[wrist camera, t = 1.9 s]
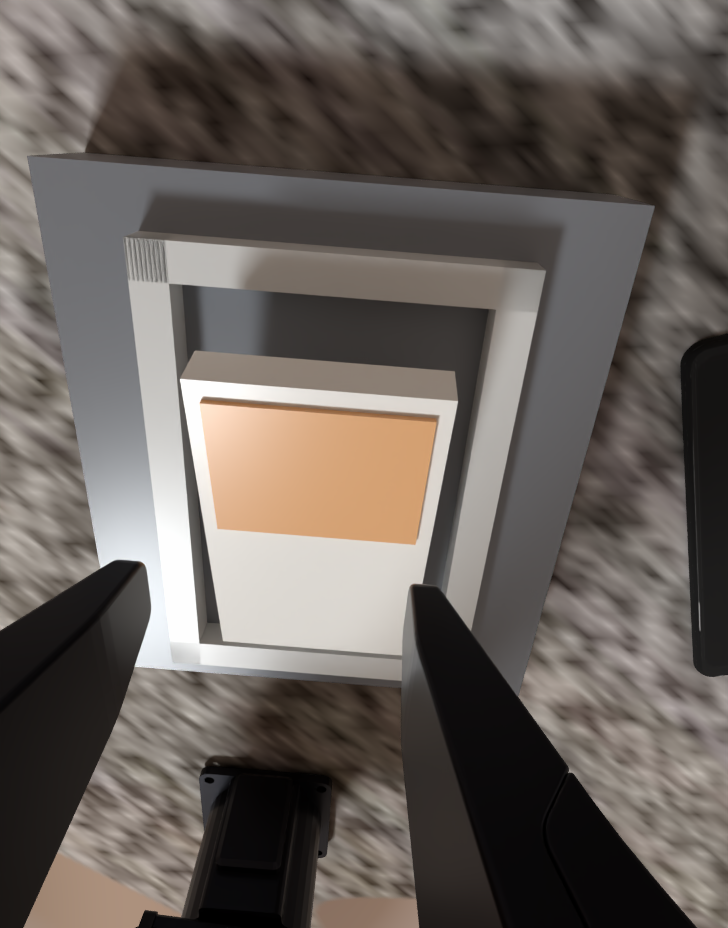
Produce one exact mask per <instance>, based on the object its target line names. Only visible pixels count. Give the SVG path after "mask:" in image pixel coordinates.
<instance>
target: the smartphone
mask: <svg viewBox="0 0 728 928" xmlns="http://www.w3.org/2000/svg"><path fill="white" fill-rule="evenodd" d="M685 392H686V393H685ZM681 394H682V418H683V441H684V464H685V487H686V510H687V532H688V555H689V578H690V600H691V622H692V644H693V662H694V666H695V668H696V669H697V670H698V671H699V672H700V673H701V674H703V675H705V676H709V677H716V676H724V675H728V334H725V335H721V336H717V337H713V338H709V339H705V340H702V341H699V342H697V343H695V344H693V345H692V346H691V347H690V348H689V349H688V350H687V351H686V352H685V354H684V355H683V357H682V360H681ZM688 468H689V469H688ZM693 590H694V591H693Z"/></svg>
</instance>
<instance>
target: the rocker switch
mask: <svg viewBox="0 0 728 928" xmlns="http://www.w3.org/2000/svg"><path fill="white" fill-rule="evenodd" d="M180 383H181V389H182V395H183V401H184V407H185V413H186V419H187V425H188V431H189V437H190V443H191V449H192V456H193V462H194V468H195V474H196V480H197V486H198V492H199V498H200V504H201V510H202V516H203V522H204V528H205V535H206V541H207V547H208V553H209V559H210V565H211V571H212V577H213V583H214V589H215V595H216V601H217V607H218V614H219V620H220V626H221V632H222V638H223V641H227V642H240V643H252V644H265V645H277V646H289V647H302V648H314V649H326V650H339V651H351V652H363V653H376V654H388V655H401V656H402V640H403V626H404V619H405V611H406V604H407V597H408V590H409V587H410V586H411V585H412V584H422V583H423V578H424V573H425V568H426V563H427V558H428V552H429V547H430V542H431V537H432V532H433V527H434V522H435V517H436V512H437V506H438V501H439V496H440V491H441V486H442V481H443V476H444V471H445V466H446V460H447V455H448V450H449V445H450V440H451V435H452V430H453V425H454V420H455V414H456V409H457V404H458V396H457V387H456V378H455V371H444V370H432V369H419V368H407V367H394V366H382V365H369V364H357V363H344V362H332V361H319V360H307V359H294V358H282V357H269V356H257V355H244V354H232V353H219V352H207V351H194V353H193V355H192V357H191V359H190V361H189V362H188V364H187V366H186V368H185V370H184V372H183V374H182V376H181V378H180Z"/></svg>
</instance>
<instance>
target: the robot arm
mask: <svg viewBox="0 0 728 928" xmlns="http://www.w3.org/2000/svg"><path fill="white" fill-rule="evenodd" d="M150 615H151V598H150V591H149V583H148V575H147V569H146V566H145V564H144V563H142V562H141V561H132V560H114V561H112V562H110V563H109V564H107V565H105V566H104V567H102V568H100V569H99V570H97V571H96V572H94V573H92V574H91V575H89V576H88V577H86V578H84V579H83V580H81V581H80V582H78V583H76V584H75V585H73V586H71V587H70V588H68V589H67V590H65V591H63V592H62V593H60V594H59V595H57V596H55V597H54V598H52V599H51V600H49V601H47V602H46V603H44V604H42V605H41V606H39V607H38V608H36V609H34V610H33V611H31V612H30V613H28V614H26V615H25V616H23V617H22V618H20V619H18V620H17V621H15V622H14V623H12V624H10V625H9V626H7V627H5V628H4V629H2V630H1V631H0V928H23V927H24V925H25V923H26V920H27V918H28V916H29V914H30V911H31V909H32V907H33V905H34V903H35V901H36V898H37V896H38V894H39V892H40V889H41V887H42V885H43V883H44V880H45V878H46V876H47V874H48V871H49V869H50V867H51V865H52V863H53V861H54V858H55V856H56V854H57V852H58V850H59V847H60V845H61V843H62V841H63V838H64V836H65V834H66V832H67V830H68V827H69V825H70V823H71V821H72V819H73V816H74V814H75V812H76V810H77V807H78V805H79V803H80V801H81V799H82V796H83V794H84V792H85V790H86V787H87V785H88V783H89V781H90V779H91V776H92V774H93V772H94V770H95V768H96V765H97V763H98V761H99V759H100V756H101V754H102V752H103V750H104V748H105V745H106V743H107V741H108V739H109V737H110V734H111V732H112V730H113V727H114V725H115V723H116V720H117V718H118V715H119V712H120V709H121V707H122V704H123V701H124V698H125V695H126V692H127V689H128V685H129V682H130V679H131V676H132V673H133V670H134V667H135V664H136V661H137V658H138V654H139V651H140V648H141V645H142V642H143V639H144V636H145V633H146V630H147V627H148V623H149V620H150ZM401 747H402V759H403V769H404V779H405V789H406V799H407V809H408V819H409V829H410V839H411V849H412V859H413V869H414V879H415V889H416V899H417V909H418V919H419V928H697V927H696V926H695V925H694V924H693V923H692V921H691V920H690V919H689V918H688V917H687V916H686V915H685V913H684V912H683V911H682V910H681V909H680V908H679V906H678V905H677V904H676V903H675V902H674V901H673V899H672V898H671V897H670V896H669V895H668V894H667V893H666V891H665V890H664V889H663V888H662V887H661V886H660V884H659V883H658V882H657V881H656V880H655V878H654V877H653V876H652V875H651V874H650V872H649V871H648V870H647V869H646V868H645V866H644V865H643V864H642V863H641V861H640V860H639V859H638V858H637V857H636V855H635V854H634V853H633V852H632V851H631V849H630V848H629V847H628V846H627V845H626V843H625V842H624V841H623V840H622V838H621V837H620V836H619V835H618V833H617V832H616V831H615V829H614V828H613V827H612V825H611V824H610V823H609V821H608V820H607V819H606V817H605V816H604V815H603V813H602V812H601V811H600V809H599V808H598V807H597V805H596V804H595V803H594V802H593V800H592V799H591V797H590V796H589V795H588V793H587V792H586V791H585V789H584V788H583V786H582V785H581V784H580V782H579V781H578V779H577V778H576V777H575V775H574V774H573V773H568V772H569V768H568V766H567V764H566V763H565V762H564V760H563V759H562V757H561V756H560V755H559V753H558V752H557V751H556V749H555V748H554V746H553V745H552V744H551V742H550V741H549V739H548V738H547V737H546V735H545V734H544V732H543V731H542V730H541V728H540V727H539V725H538V724H537V723H536V721H535V720H534V719H533V717H532V716H531V714H530V713H529V712H528V710H527V709H526V707H525V706H524V705H523V703H522V702H521V700H520V699H519V698H518V696H517V695H516V694H515V692H514V691H513V689H512V688H511V687H510V685H509V684H508V682H507V681H506V680H505V678H504V677H503V675H502V674H501V673H500V671H499V670H498V668H497V667H496V666H495V664H494V663H493V662H492V660H491V659H490V657H489V656H488V655H487V653H486V652H485V650H484V649H483V648H482V646H481V645H480V643H479V642H478V641H477V639H476V638H475V637H474V635H473V634H472V632H471V631H470V630H469V628H468V627H467V625H466V624H465V623H464V621H463V620H462V618H461V617H460V616H459V614H458V613H457V612H456V610H455V609H454V607H453V606H452V605H451V603H450V602H449V600H448V599H447V598H446V596H445V595H444V593H443V592H442V591H441V589H440V588H439V587H438V586H435V585H427V584H412V585H411V586H410V587H409V590H408V597H407V604H406V611H405V619H404V626H403V640H402V686H401ZM199 783H200V793H201V803H202V813H203V823H204V834H203V838H202V842H201V846H200V849H199V853H198V857H197V861H196V864H195V868H194V872H193V875H192V879H191V883H190V887H189V890H188V894H187V898H186V902H185V905H184V909H183V913H182V916H181V917H173V916H166V915H158V912H156V911H148V910H145V911H144V913H143V916H142V919H141V921H140V924H139V926H138V927H136V928H311V918H312V909H313V899H314V889H315V879H316V869H317V860H318V858H323V857H325V856H326V855H327V847H328V834H329V819H330V805H331V791H332V780H331V779H330V778H329V777H327V776H322V775H310V774H298V773H285V772H273V771H261V770H248V769H236V768H224V767H212V766H210V767H205V768H203V769H202V771H201V775H200V778H199Z"/></svg>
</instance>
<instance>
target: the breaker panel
mask: <svg viewBox="0 0 728 928" xmlns="http://www.w3.org/2000/svg"><path fill="white" fill-rule="evenodd" d="M27 158H28V164H29V169H30V175H31V180H32V186H33V192H34V197H35V203H36V209H37V214H38V220H39V225H40V231H41V237H42V242H43V248H44V254H45V259H46V265H47V270H48V276H49V282H50V287H51V293H52V299H53V304H54V310H55V316H56V321H57V327H58V332H59V338H60V344H61V349H62V355H63V361H64V366H65V372H66V377H67V383H68V389H69V394H70V400H71V406H72V411H73V417H74V422H75V428H76V434H77V439H78V445H79V451H80V456H81V462H82V468H83V473H84V479H85V484H86V490H87V496H88V501H89V507H90V513H91V518H92V524H93V529H94V535H95V541H96V546H97V552H98V558H99V563H100V568H102V567H104V566H105V565H107V564H109V563H110V562H112V561H114V560H132V561H141V562H142V563H144V564H145V566H146V569H147V575H148V583H149V591H150V598H151V615H150V620H149V623H148V627H147V630H146V633H145V636H144V639H143V642H142V645H141V648H140V651H139V654H138V658H137V661H136V664H135V667H147V668H159V669H171V670H184V671H196V672H208V673H221V674H233V675H246V676H258V677H270V678H283V679H295V680H307V681H320V682H332V683H344V684H357V685H369V686H381V687H394V688H401V686H402V656H401V655H388V654H376V653H363V652H351V651H339V650H326V649H314V648H302V647H289V646H277V645H265V644H252V643H240V642H227V641H223V638H222V632H221V626H220V620H219V614H218V607H217V601H216V595H215V589H214V583H213V577H212V571H211V565H210V559H209V553H208V547H207V541H206V535H205V528H204V522H203V516H202V510H201V504H200V498H199V492H198V486H197V480H196V474H195V468H194V462H193V456H192V449H191V443H190V437H189V431H188V425H187V419H186V413H185V407H184V401H183V395H182V389H181V383H180V378H181V376H182V374H183V372H184V370H185V368H186V366H187V364H188V362H189V361H190V359H191V357H192V355H193V353H194V351H207V352H219V353H232V354H244V355H257V356H269V357H282V358H294V359H307V360H319V361H332V362H344V363H357V364H369V365H382V366H394V367H407V368H419V369H432V370H444V371H455V378H456V387H457V396H458V404H457V409H456V414H455V420H454V425H453V430H452V435H451V440H450V445H449V450H448V455H447V460H446V466H445V471H444V476H443V481H442V486H441V491H440V496H439V501H438V506H437V512H436V517H435V522H434V527H433V532H432V537H431V542H430V547H429V552H428V558H427V563H426V568H425V573H424V578H423V583H422V584H427V585H435V586H438V587H439V588H440V589H441V591H442V592H443V593H444V595H445V596H446V598H447V599H448V600H449V602H450V603H451V605H452V606H453V607H454V609H455V610H456V612H457V613H458V614H459V616H460V617H461V618H462V620H463V621H464V623H465V624H466V625H467V627H468V628H469V630H470V631H471V632H472V634H473V635H474V637H475V638H476V639H477V641H478V642H479V643H480V645H481V646H482V648H483V649H484V650H485V652H486V653H487V655H488V656H489V657H490V659H491V660H492V662H493V663H494V664H495V666H496V667H497V668H498V670H499V671H500V673H501V674H502V675H503V677H504V678H505V680H506V681H507V682H508V684H509V685H510V687H511V688H512V689H513V691H514V692H515V694H516V695H517V696H519V692H520V688H521V685H522V681H523V678H524V674H525V671H526V667H527V663H528V660H529V656H530V653H531V649H532V645H533V642H534V638H535V635H536V631H537V627H538V624H539V620H540V617H541V613H542V610H543V606H544V602H545V599H546V595H547V592H548V588H549V584H550V581H551V577H552V574H553V570H554V567H555V563H556V559H557V556H558V552H559V549H560V545H561V541H562V538H563V534H564V531H565V527H566V523H567V520H568V516H569V513H570V509H571V506H572V502H573V498H574V495H575V491H576V488H577V484H578V480H579V477H580V473H581V470H582V466H583V462H584V459H585V455H586V452H587V448H588V445H589V441H590V437H591V434H592V430H593V427H594V423H595V419H596V416H597V412H598V409H599V405H600V402H601V398H602V394H603V391H604V387H605V384H606V380H607V376H608V373H609V369H610V366H611V362H612V358H613V355H614V351H615V348H616V344H617V341H618V337H619V333H620V330H621V326H622V323H623V319H624V315H625V312H626V308H627V305H628V301H629V298H630V294H631V290H632V287H633V283H634V280H635V276H636V272H637V269H638V265H639V262H640V258H641V254H642V251H643V247H644V244H645V240H646V237H647V233H648V229H649V226H650V222H651V219H652V215H653V211H654V208H655V206H654V205H650V204H647V203H643V202H639V201H636V200H632V199H628V198H625V197H621V196H617V195H612V194H600V193H587V192H575V191H562V190H549V189H537V188H524V187H512V186H499V185H487V184H474V183H461V182H449V181H436V180H424V179H411V178H398V177H386V176H373V175H361V174H348V173H335V172H323V171H310V170H298V169H285V168H272V167H260V166H247V165H235V164H222V163H210V162H197V161H184V160H172V159H159V158H147V157H134V156H121V155H109V154H96V153H84V152H83V153H67V154H50V155H34V156H27Z"/></svg>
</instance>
